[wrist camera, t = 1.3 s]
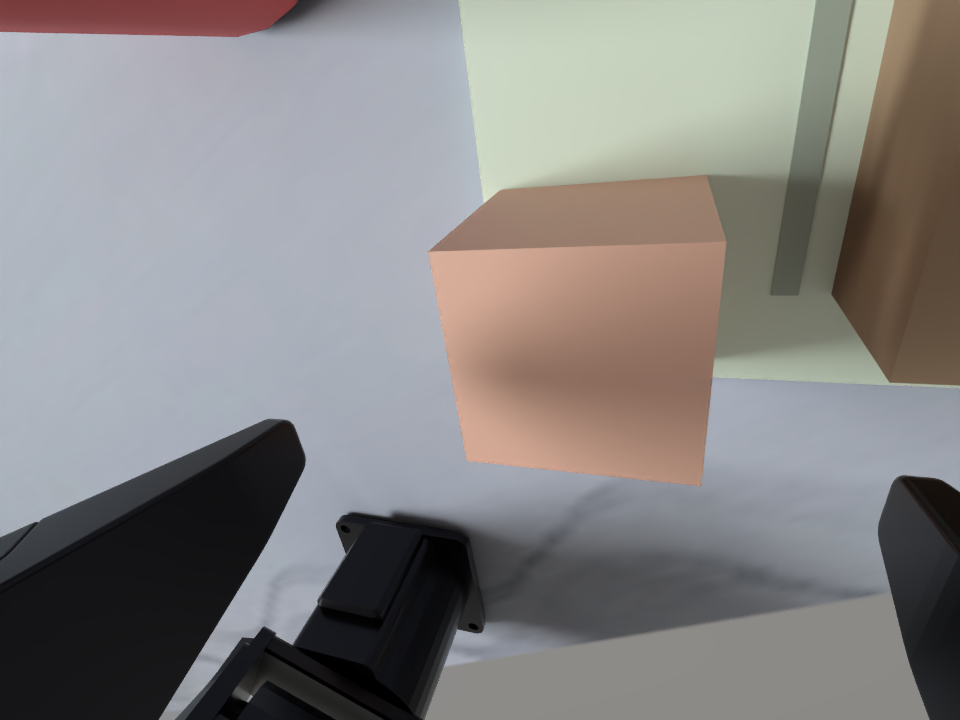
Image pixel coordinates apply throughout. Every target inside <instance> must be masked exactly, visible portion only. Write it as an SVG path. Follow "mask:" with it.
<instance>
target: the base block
mask: <svg viewBox="0 0 960 720" xmlns="http://www.w3.org/2000/svg"><path fill="white" fill-rule="evenodd" d="M831 295H832V296H833V298H834V299H835V301H836V302H837V304H838V305H839V307H840V308H841V310H842V311H843V313H844V314H845V316H846V317H847V319H848V320H849V322H850V323H851V325H852V327H853V328H854V330H855V331H856V333H857V334H858V336H859V337H860V339H861V340H862V342H863V343H864V345H865V346H866V348H867V349H868V351H869V352H870V354H871V355H872V357H873V358H874V360H875V361H876V363H877V364H878V366H879V368H880V369H881V371H882V372H883V374H884V375H885V377H886V378H887V380H888V381H889V383H910V384H933V385H957V386H960V0H894V5H893V10H892V14H891V19H890V23H889V28H888V33H887V37H886V42H885V47H884V51H883V56H882V61H881V65H880V70H879V75H878V79H877V84H876V89H875V93H874V98H873V102H872V107H871V112H870V116H869V121H868V126H867V130H866V135H865V140H864V144H863V149H862V154H861V158H860V163H859V168H858V172H857V177H856V182H855V186H854V191H853V195H852V200H851V205H850V209H849V214H848V219H847V223H846V228H845V233H844V237H843V242H842V247H841V251H840V256H839V261H838V265H837V270H836V274H835V279H834V284H833V288H832V293H831Z"/></svg>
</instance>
